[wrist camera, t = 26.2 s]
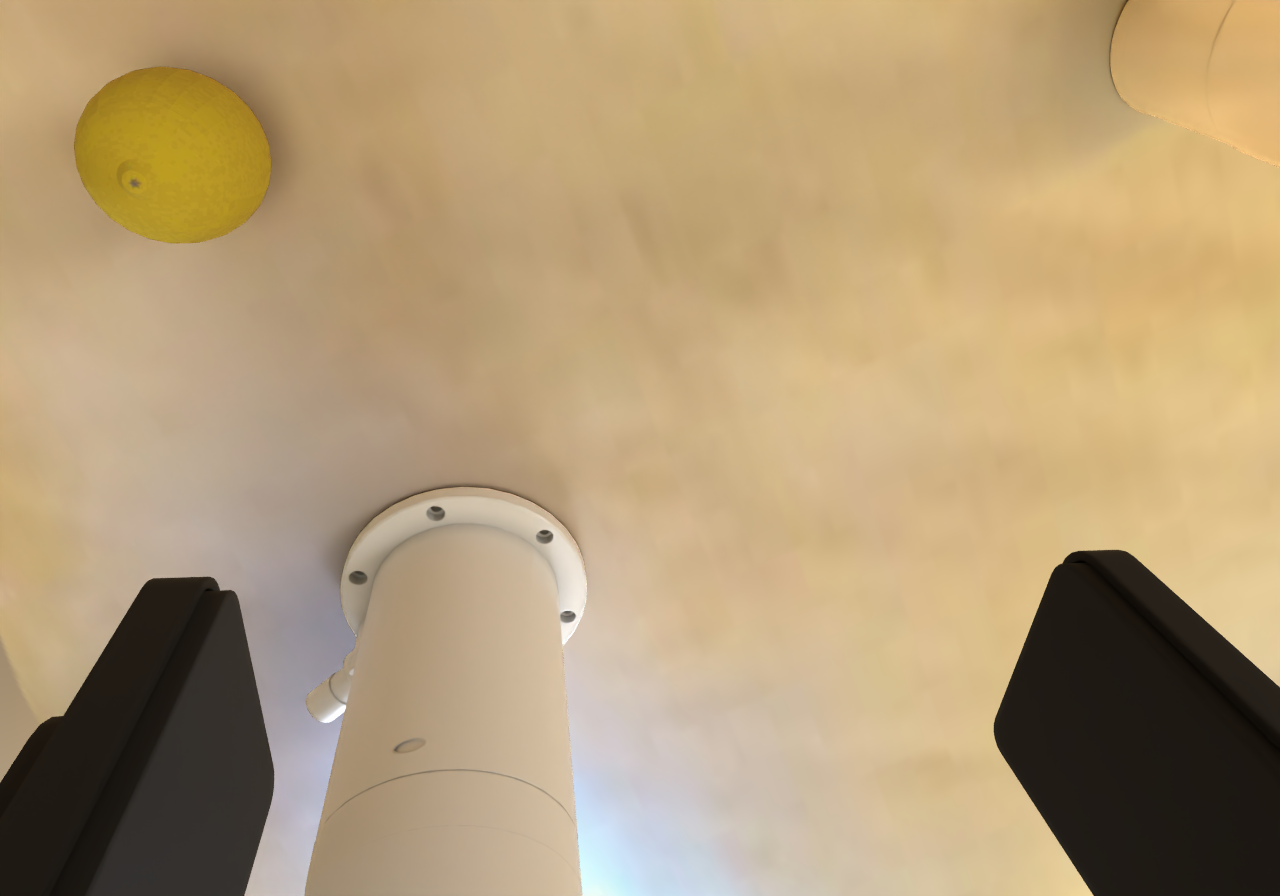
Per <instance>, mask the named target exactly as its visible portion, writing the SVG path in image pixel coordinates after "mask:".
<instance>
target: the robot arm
mask: <svg viewBox="0 0 1280 896" xmlns="http://www.w3.org/2000/svg"><path fill="white" fill-rule="evenodd" d="M435 506H438V507H435ZM340 594H341V606H342V609H343V612H344V615H345V618H346V621H347V623H348V625H349V627H350V628H351V630H352V631H353V633H354V635H355V636H356V638H357V639H356V644H355V648H354V650H353V651H352V652H350V653H349V654H348V655H347V656H346V658H345V660H344V667H343V668H342V669H341V670H340V671H338V672H337V673H334V674H333V675H331V676H330V677H329V678H328V679H326V680H325V681H324V682H323V683H321V684H320V685H319V686H318V687H316V688H315V689H314V690H313V691H311V692H310V693H309V694H308V695H307V698H306V705H307V709H308V711H309V712H310V714H311V715H312V717H314V718H315V719H316V720H318V721H319V722H324V723H328V722H331V721H333V720H334V719H336V718H337V717H338V716H339V715H341V714H342V713H343V712H344V717H343V721H342V726H341V730H340V735H339V739H338V744H337V748H336V752H335V757H334V761H333V766H332V770H331V775H330V779H329V784H328V788H327V793H326V797H325V802H324V806H323V810H322V815H321V819H320V824H319V828H318V833H317V837H316V841H315V844H314V848H313V852H312V857H311V862H310V866H309V871H308V876H307V882H306V888H305V896H582V886H581V874H580V862H579V849H578V834H577V821H576V809H575V796H574V783H573V771H572V758H571V745H570V733H569V720H568V707H567V695H566V682H565V670H564V657H563V645H564V644H565V643H566V641H567V640H568V639H569V638H570V636H571V635H572V634H573V632H574V631H575V630H576V628H577V625H578V623H579V621H580V619H581V617H582V615H583V612H584V608H585V604H586V599H587V578H586V571H585V565H584V560H583V558H582V555H581V553H580V550H579V548H578V545H577V543H576V542H575V540H574V539H573V537H572V536H571V535H570V533H569V532H568V530H567V529H566V528H565V527H564V526H563V525H562V524H561V523H560V522H559V521H558V520H557V519H556V518H555V517H554V516H553V515H552V514H550V513H549V512H547V511H545V510H544V509H542V508H541V507H539V506H538V505H536V504H534V503H533V502H531V501H528V500H526V499H523V498H521V497H518V496H516V495H513V494H511V493H506V492H502V491H497V490H493V489H489V488H475V487H455V488H444V489H437V490H433V491H429V492H425V493H421V494H417V495H414V496H412V497H410V498H407V499H405V500H403V501H401V502H398V503H396V504H394V505H392V506H391V507H389V508H388V509H386V510H385V511H384V512H382V513H381V514H379V515H378V516H376V517H375V518H374V519H373V520H372V521H371V522H370V523H369V524H368V525H367V526H366V527H365V528H364V529H363V530H362V531H361V532H360V534H359V535H358V537H357V539H356V540H355V542H354V544H353V545H352V547H351V549H350V550H349V553H348V557H347V560H346V563H345V566H344V569H343V574H342V579H341V585H340ZM994 736H995V740H996V743H997V746H998V748H999V750H1000V752H1001V754H1002V755H1003V757H1004V758H1005V760H1006V762H1007V763H1008V765H1009V766H1010V768H1011V769H1012V771H1013V772H1014V774H1015V775H1016V777H1017V778H1018V780H1019V782H1020V783H1021V785H1022V786H1023V788H1024V789H1025V791H1026V792H1027V794H1028V795H1029V797H1030V798H1031V800H1032V802H1033V803H1034V805H1035V806H1036V808H1037V809H1038V811H1039V812H1040V814H1041V815H1042V817H1043V818H1044V820H1045V821H1046V823H1047V825H1048V826H1049V828H1050V829H1051V831H1052V832H1053V834H1054V835H1055V837H1056V838H1057V840H1058V841H1059V843H1060V845H1061V846H1062V848H1063V849H1064V851H1065V852H1066V854H1067V855H1068V857H1069V858H1070V860H1071V861H1072V863H1073V865H1074V866H1075V868H1076V869H1077V871H1078V872H1079V874H1080V875H1081V877H1082V878H1083V880H1084V881H1085V883H1086V885H1087V886H1088V888H1089V889H1090V891H1091V892H1092V894H1093V895H1094V896H1280V687H1279V686H1278V685H1276V684H1275V683H1274V682H1273V681H1272V680H1271V679H1270V678H1269V677H1268V676H1266V675H1265V674H1264V673H1263V672H1262V671H1261V670H1260V669H1259V668H1257V667H1256V666H1255V665H1254V664H1253V663H1252V662H1251V661H1250V660H1249V659H1247V658H1246V657H1245V656H1244V655H1243V654H1242V653H1241V652H1240V651H1239V650H1237V649H1236V648H1235V647H1234V646H1233V645H1232V644H1231V643H1230V642H1229V641H1227V640H1226V639H1225V638H1224V637H1223V636H1222V635H1221V634H1220V633H1218V632H1217V631H1216V630H1215V629H1214V628H1213V627H1212V626H1211V625H1210V624H1208V623H1207V622H1206V621H1205V620H1204V619H1203V618H1202V617H1201V616H1200V615H1198V614H1197V613H1196V612H1195V611H1194V610H1193V609H1192V608H1191V607H1190V606H1188V605H1187V604H1186V603H1185V602H1184V601H1183V600H1182V599H1181V598H1180V597H1178V596H1177V595H1176V594H1175V593H1174V592H1173V591H1172V590H1171V589H1169V588H1168V587H1167V586H1166V585H1165V584H1164V583H1163V582H1162V581H1161V580H1159V579H1158V578H1157V577H1156V576H1155V575H1154V574H1153V573H1152V572H1151V571H1149V570H1148V569H1147V568H1146V567H1145V566H1144V565H1143V564H1142V563H1141V562H1139V561H1138V560H1137V559H1136V558H1135V557H1134V556H1132V555H1131V554H1129V553H1128V552H1126V551H1121V550H1097V551H1077V552H1073V553H1071V554H1070V555H1068V556H1067V557H1066V558H1065V560H1064V562H1063V563H1062V564H1060V565H1058V566H1057V567H1056V568H1055V569H1054V571H1053V572H1052V574H1051V577H1050V579H1049V582H1048V584H1047V587H1046V590H1045V592H1044V595H1043V597H1042V600H1041V602H1040V605H1039V608H1038V610H1037V613H1036V615H1035V618H1034V620H1033V623H1032V625H1031V628H1030V631H1029V633H1028V636H1027V638H1026V641H1025V643H1024V646H1023V649H1022V651H1021V654H1020V656H1019V659H1018V661H1017V664H1016V667H1015V669H1014V672H1013V674H1012V677H1011V679H1010V682H1009V684H1008V687H1007V690H1006V692H1005V695H1004V697H1003V700H1002V702H1001V705H1000V708H999V710H998V713H997V715H996V718H995V722H994ZM273 789H274V768H273V762H272V757H271V752H270V748H269V743H268V738H267V733H266V729H265V724H264V719H263V714H262V710H261V705H260V700H259V695H258V691H257V686H256V681H255V676H254V672H253V667H252V662H251V657H250V653H249V648H248V643H247V638H246V634H245V629H244V624H243V619H242V615H241V610H240V605H239V601H238V598H237V595H236V593H235V592H234V591H232V590H226V591H220V589H219V586H218V583H217V582H216V581H215V579H214V578H211V577H187V578H153V579H151V580H149V581H147V582H146V584H145V585H144V586H143V587H142V589H141V590H140V592H139V594H138V595H137V597H136V598H135V600H134V602H133V603H132V605H131V607H130V608H129V610H128V611H127V613H126V615H125V616H124V618H123V620H122V621H121V623H120V625H119V626H118V628H117V629H116V631H115V633H114V634H113V636H112V638H111V639H110V641H109V642H108V644H107V646H106V647H105V649H104V651H103V652H102V654H101V656H100V657H99V659H98V660H97V662H96V664H95V665H94V667H93V669H92V670H91V672H90V673H89V675H88V677H87V678H86V680H85V682H84V683H83V685H82V686H81V688H80V690H79V691H78V693H77V695H76V696H75V698H74V700H73V701H72V703H71V704H70V706H69V708H68V709H67V711H66V713H65V714H64V716H59V717H51V718H50V719H48V720H47V721H45V722H44V723H42V724H40V725H39V727H38V728H37V729H36V731H35V732H34V733H33V734H32V735H31V737H30V738H29V739H28V741H27V742H26V744H25V745H24V747H23V749H22V750H21V751H20V753H19V755H18V756H17V758H16V759H15V761H14V762H13V764H12V765H11V767H10V769H9V770H8V772H7V774H6V775H5V776H4V778H3V780H2V781H1V783H0V896H244V894H245V891H246V888H247V884H248V881H249V877H250V874H251V870H252V867H253V864H254V860H255V857H256V853H257V850H258V846H259V843H260V839H261V836H262V833H263V829H264V826H265V822H266V819H267V815H268V812H269V809H270V805H271V801H272V796H273Z"/></svg>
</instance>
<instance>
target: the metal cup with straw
mask: <svg viewBox="0 0 1280 896" xmlns="http://www.w3.org/2000/svg"><path fill="white" fill-rule="evenodd" d="M1110 67H1111V74H1112V78H1113V82H1114V85H1115V87H1116V89H1117V91H1118V93H1119V95H1120V96H1121V98H1122V99H1123V100H1124V101H1125V102H1126V103H1127V104H1128V105H1129V106H1130V107H1132V108H1133V109H1135V110H1137V111H1139V112H1141V113H1144V114H1147V115H1152V116H1155V117H1157V118H1160V119H1162V120H1165V121H1168V122H1170V123H1173V124H1176V125H1178V126H1181V127H1183V128H1186V129H1189V130H1191V131H1194V132H1197V133H1199V134H1202V135H1205V136H1207V137H1210V138H1212V139H1215V140H1218V141H1220V142H1223V143H1225V144H1228V145H1230V146H1232V147H1233V148H1235V149H1237V150H1238V151H1240V152H1242V153H1244V154H1246V155H1249V156H1251V157H1254V158H1256V159H1259V160H1261V161H1264V162H1266V163H1269V164H1271V165H1274V166H1276V167H1279V168H1280V0H1128V1H1127V3H1126V5H1125V7H1124V9H1123V11H1122V13H1121V15H1120V17H1119V20H1118V22H1117V25H1116V28H1115V31H1114V35H1113V39H1112V44H1111V52H1110Z"/></svg>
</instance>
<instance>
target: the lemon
mask: <svg viewBox="0 0 1280 896" xmlns="http://www.w3.org/2000/svg"><path fill="white" fill-rule="evenodd" d="M74 150H75V158H76V166H77V169H78V172H79V174H80V177H81V179H82V182H83V184H84V187H85V188H86V190H87V191H88V192H89V194H90V195H91V197H92V198H93V200H94V201H95V203H96V204H97V205H98V206H99V207H100V208H101V209H102V210H103V211H104V212H105V213H106V214H107V215H108V216H109V217H110V218H111V219H113V220H114V221H116V222H117V223H119V224H120V225H122V226H123V227H125V228H126V229H128V230H129V231H132V232H134V233H137V234H139V235H142V236H144V237H146V238H149V239H152V240H157V241H162V242H168V243H199V242H203V241H207V240H210V239H214V238H217V237H220V236H223V235H226V234H228V233H229V232H231V231H232V230H234V229H235V228H237V227H239V226H240V225H242V224H243V223H245V222H246V221H247V220H248V219H249V218H250V216H251V215H252V214H253V213H254V212H255V211H256V209H257V208H258V207H259V206H260V204H261V202H262V200H263V198H264V195H265V193H266V191H267V188H268V186H269V181H270V172H271V158H270V151H269V144H268V141H267V139H266V136H265V134H264V131H263V129H262V126H261V124H260V123H259V121H258V120H257V118H256V117H255V115H254V114H253V112H252V111H251V109H250V108H249V107H248V106H247V105H246V104H245V103H244V102H243V101H242V100H241V99H240V98H239V97H238V96H237V95H236V94H235V93H234V92H233V91H231V90H230V89H228V88H226V87H225V86H223V85H222V84H220V83H219V82H217V81H215V80H214V79H212V78H210V77H207V76H204V75H201V74H199V73H196V72H193V71H190V70H186V69H178V68H170V67H154V68H148V69H141V70H135V71H132V72H130V73H127V74H125V75H123V76H121V77H119V78H117V79H115V80H113V81H111V82H109V83H108V84H106V85H105V86H104V87H103V88H102V89H101V90H100V91H99V92H98V93H97V94H96V95H95V96H94V97H93V98H92V99H91V100H90V101H89V102H88V104H87V106H86V108H85V110H84V112H83V114H82V116H81V117H80V119H79V121H78V124H77V128H76V135H75V142H74Z"/></svg>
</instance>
